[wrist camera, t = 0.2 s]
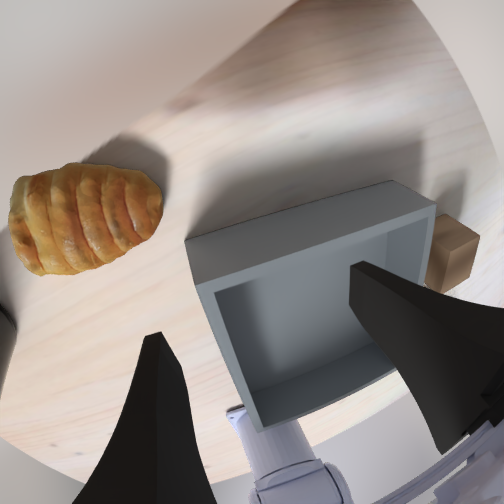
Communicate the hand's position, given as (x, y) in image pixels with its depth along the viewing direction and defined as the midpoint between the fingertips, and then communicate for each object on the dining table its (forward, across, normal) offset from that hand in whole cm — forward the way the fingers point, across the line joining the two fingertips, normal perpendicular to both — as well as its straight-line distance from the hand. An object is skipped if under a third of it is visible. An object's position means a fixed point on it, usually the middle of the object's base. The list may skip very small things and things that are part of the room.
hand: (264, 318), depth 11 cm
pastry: (+10, +8, -3) cm, 14 cm away
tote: (+10, -6, +11) cm, 16 cm away
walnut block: (+10, -20, +9) cm, 24 cm away
